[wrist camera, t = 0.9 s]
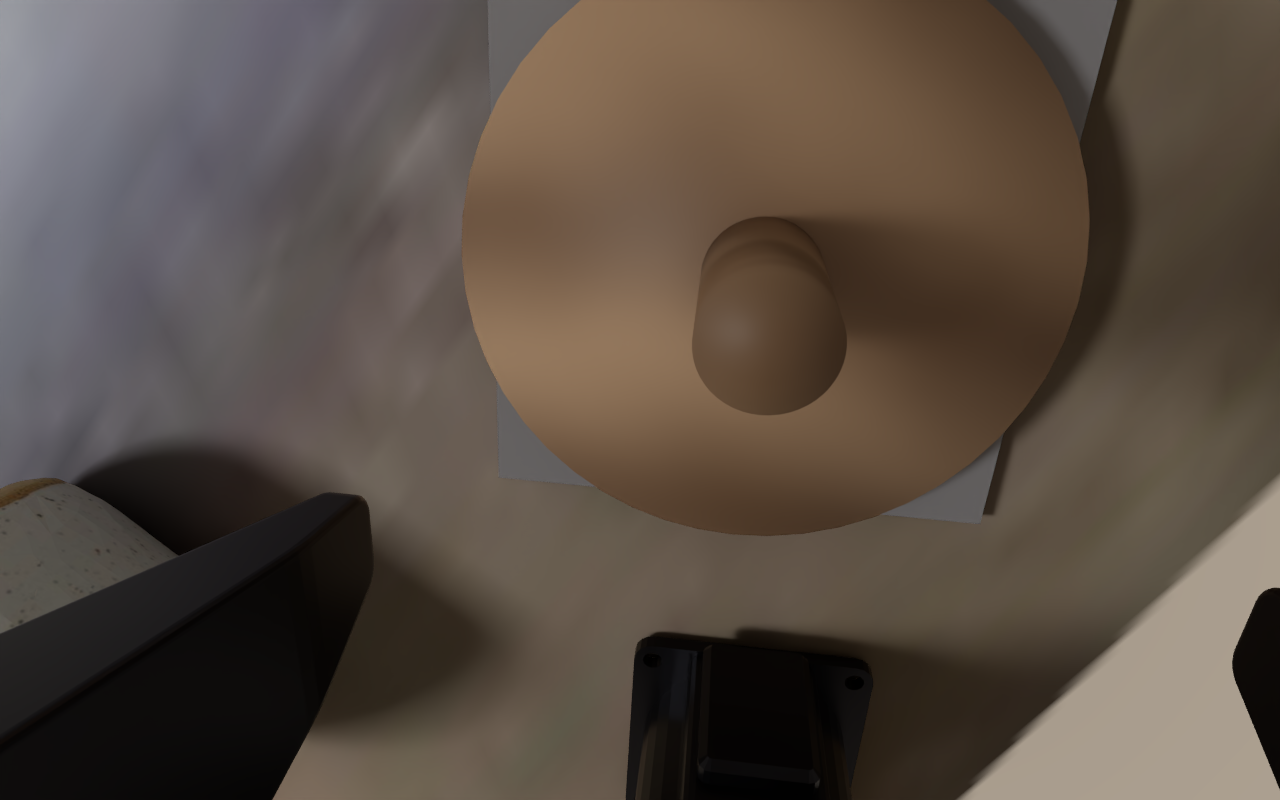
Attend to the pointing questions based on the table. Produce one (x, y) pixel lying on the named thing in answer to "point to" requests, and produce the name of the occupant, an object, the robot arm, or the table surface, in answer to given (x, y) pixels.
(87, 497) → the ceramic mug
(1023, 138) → the lid
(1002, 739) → the table surface
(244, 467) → the table surface
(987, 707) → the table surface
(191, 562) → the robot arm
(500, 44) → the mat
